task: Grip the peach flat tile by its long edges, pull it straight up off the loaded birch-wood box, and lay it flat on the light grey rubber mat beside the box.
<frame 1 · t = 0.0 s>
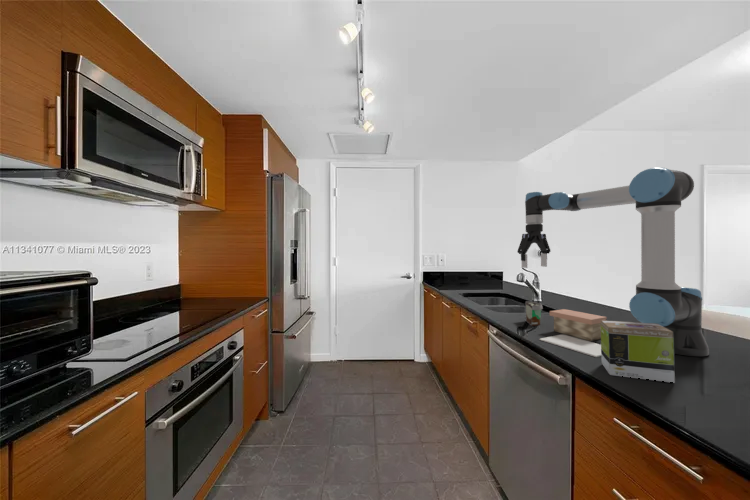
hand: (534, 267, 152), 28 cm above the worktop, tool pointing down, fingers open, 13 cm apart
grey mat: (577, 345, 119), on the worktop
peach flat tile: (576, 320, 132), point 6 cm above the worktop, touching birch box
birch box: (576, 334, 132), on the worktop
food container: (535, 324, 152), on the worktop
tea box: (634, 374, 93), on the worktop
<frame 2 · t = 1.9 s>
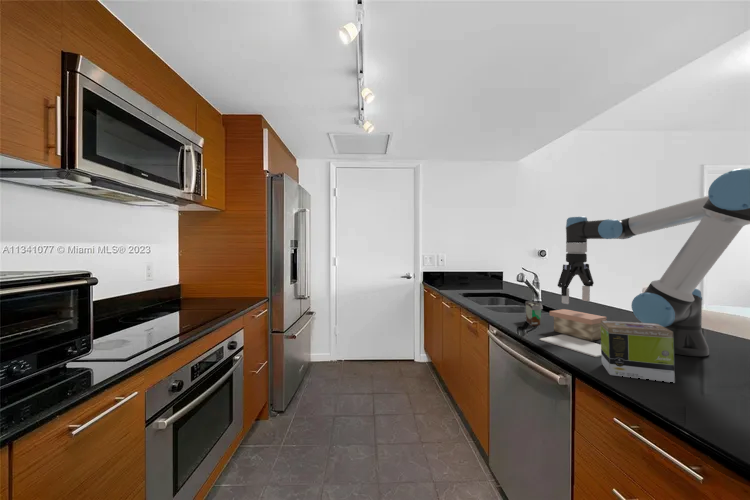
hand: (575, 302, 133), 14 cm above the worktop, tool pointing down, fingers open, 13 cm apart
nothing on the worktop moved.
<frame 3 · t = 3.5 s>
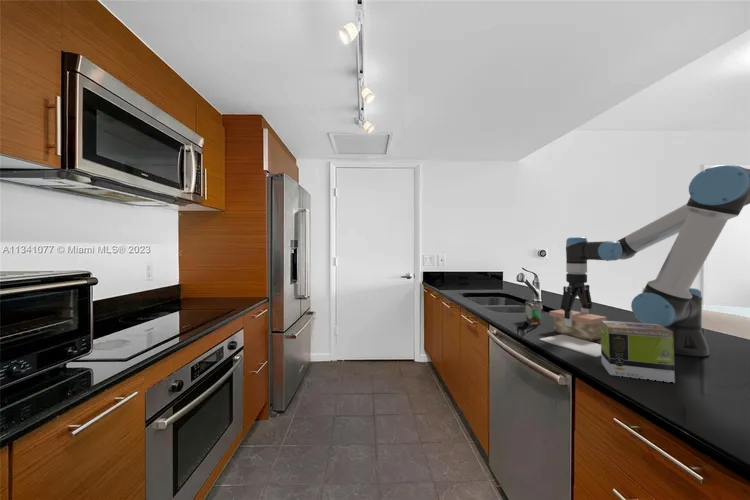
hand: (576, 324, 132), 4 cm above the worktop, tool pointing down, fingers closed on peach flat tile, 10 cm apart
peach flat tile: (576, 320, 132), point 6 cm above the worktop, touching birch box, gripper
everything else where it was.
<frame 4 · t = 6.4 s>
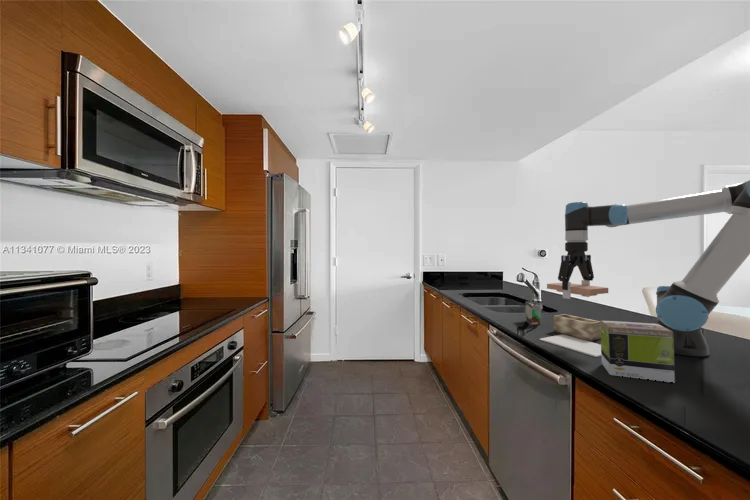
hand: (576, 297, 123), 18 cm above the worktop, tool pointing down, fingers closed on peach flat tile, 10 cm apart
peach flat tile: (576, 293, 123), point 20 cm above the worktop, touching gripper
everything else where it was.
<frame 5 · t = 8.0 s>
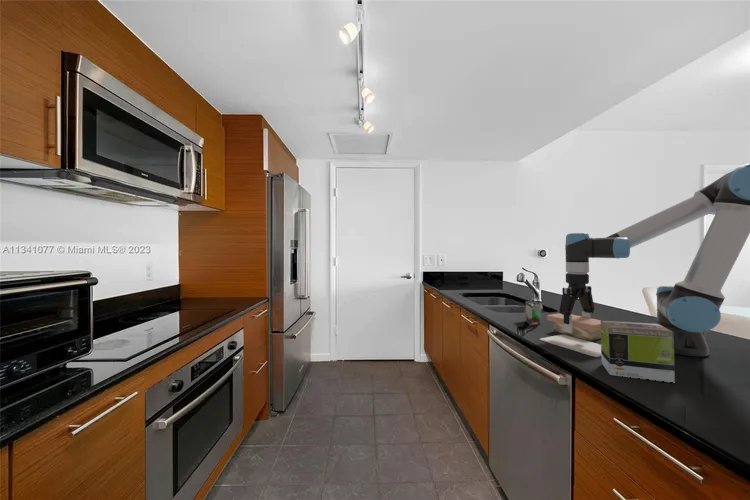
hand: (577, 330, 119), 6 cm above the worktop, tool pointing down, fingers closed on peach flat tile, 10 cm apart
peach flat tile: (577, 326, 119), point 7 cm above the worktop, touching gripper
everything else where it was.
when the fingers open (2 cm above the worktop, at t = 9.3 s): peach flat tile drops 3 cm, resting on grey mat.
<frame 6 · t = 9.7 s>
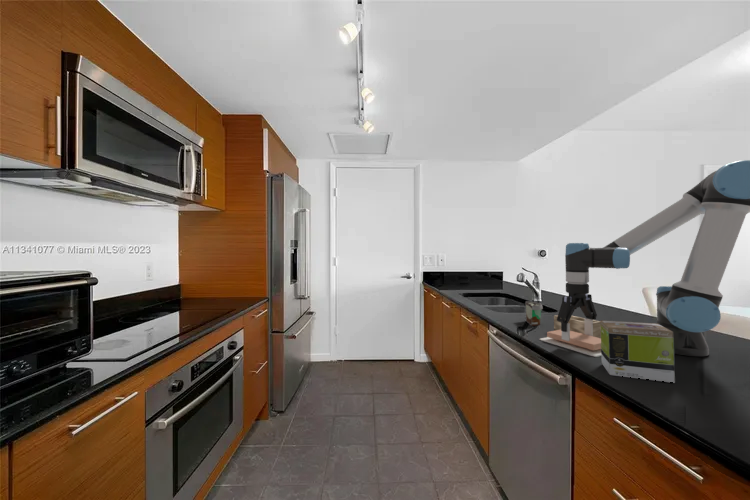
hand: (577, 337, 119), 3 cm above the worktop, tool pointing down, fingers open, 13 cm apart
peach flat tile: (577, 343, 119), resting on grey mat
everything else where it was.
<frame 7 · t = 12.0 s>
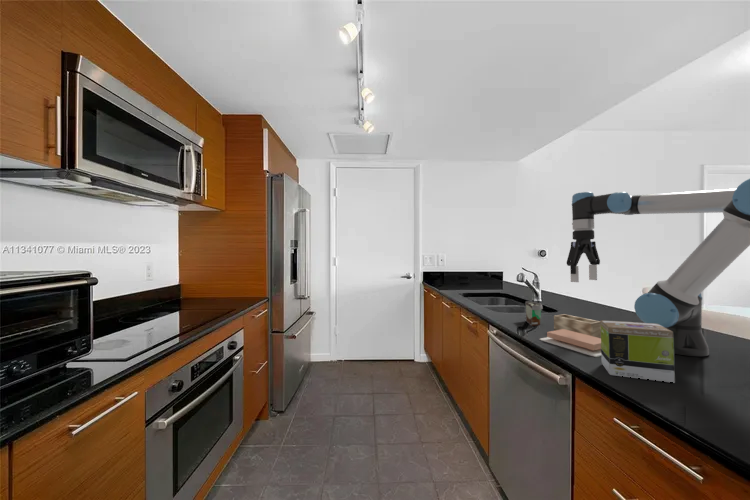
hand: (584, 281, 128), 24 cm above the worktop, tool pointing down, fingers open, 13 cm apart
nothing on the worktop moved.
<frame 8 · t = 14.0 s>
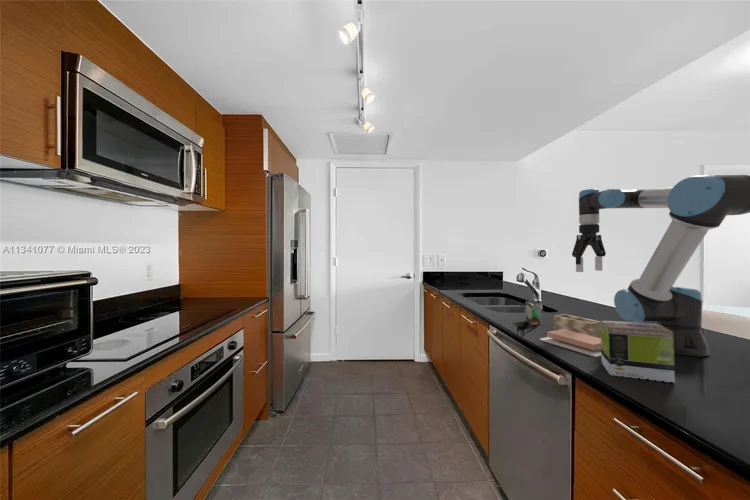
hand: (589, 271, 139), 27 cm above the worktop, tool pointing down, fingers open, 13 cm apart
nothing on the worktop moved.
at the end: peach flat tile inside the target area (0.1 cm from its centre), point 0.5 cm above the worktop; peach flat tile tilted 0°; the gripper is holding nothing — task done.
